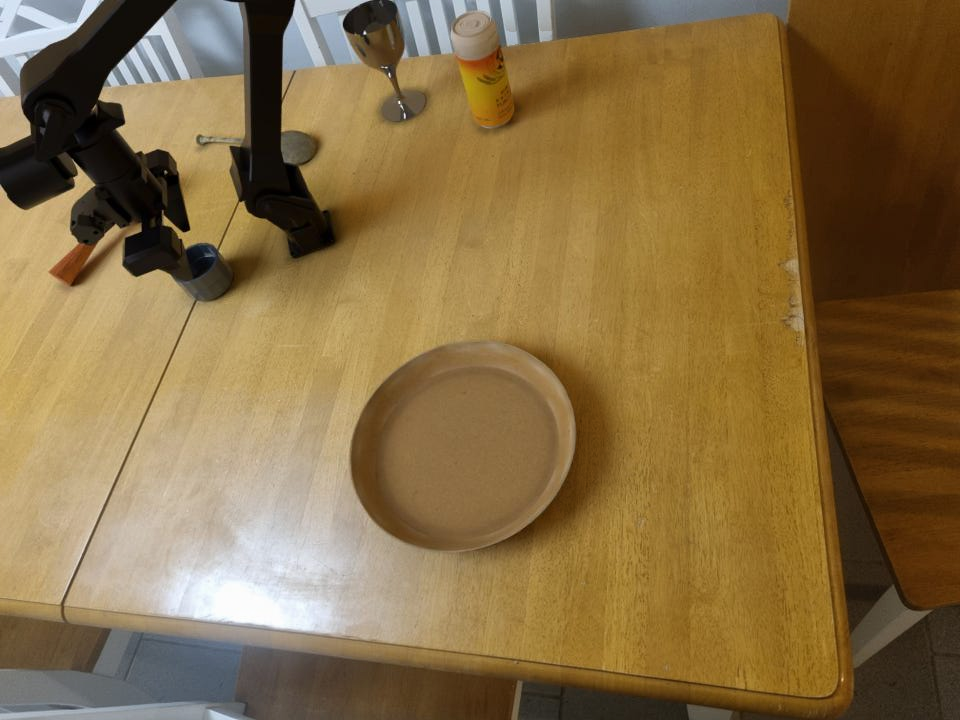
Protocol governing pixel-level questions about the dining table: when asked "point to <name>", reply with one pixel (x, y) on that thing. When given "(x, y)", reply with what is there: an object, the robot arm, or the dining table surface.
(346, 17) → the wine glass
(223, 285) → the bowl
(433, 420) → the plant saucer
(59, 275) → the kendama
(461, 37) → the beer can
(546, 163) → the dining table surface
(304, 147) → the soupspoon
